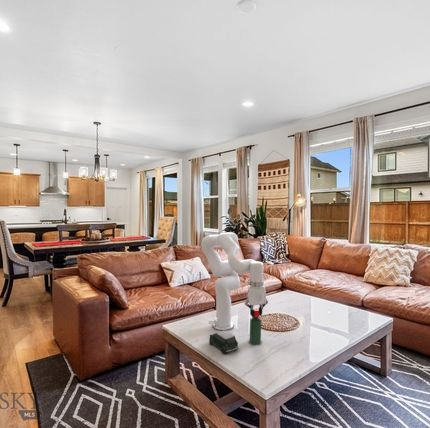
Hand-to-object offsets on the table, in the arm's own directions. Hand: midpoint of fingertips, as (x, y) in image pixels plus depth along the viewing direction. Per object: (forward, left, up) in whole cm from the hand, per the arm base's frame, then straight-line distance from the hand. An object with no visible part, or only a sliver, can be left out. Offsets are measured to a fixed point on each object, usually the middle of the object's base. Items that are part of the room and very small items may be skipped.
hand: (256, 315), depth 168 cm
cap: (0, 0, -1) cm, 1 cm away
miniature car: (-19, 0, -16) cm, 25 cm away
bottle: (0, +1, -16) cm, 16 cm away
